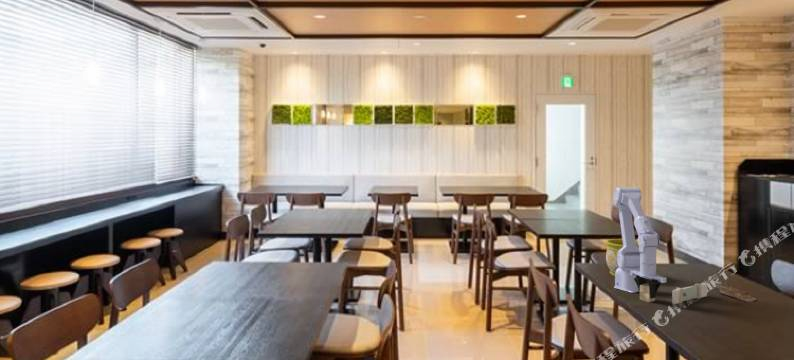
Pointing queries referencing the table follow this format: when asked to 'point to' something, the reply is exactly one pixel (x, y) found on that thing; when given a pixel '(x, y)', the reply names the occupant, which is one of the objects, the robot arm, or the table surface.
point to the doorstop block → (645, 293)
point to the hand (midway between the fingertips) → (647, 296)
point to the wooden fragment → (735, 293)
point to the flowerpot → (614, 253)
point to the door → (689, 293)
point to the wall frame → (678, 292)
